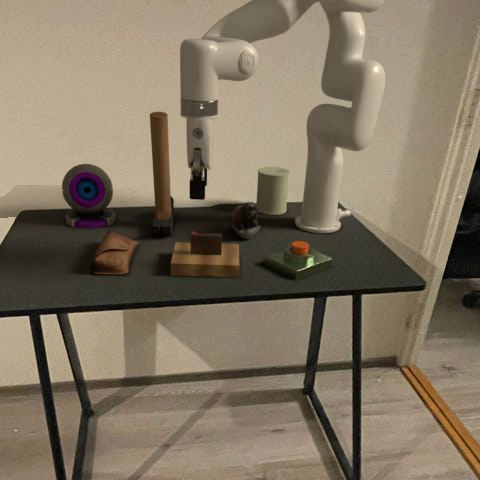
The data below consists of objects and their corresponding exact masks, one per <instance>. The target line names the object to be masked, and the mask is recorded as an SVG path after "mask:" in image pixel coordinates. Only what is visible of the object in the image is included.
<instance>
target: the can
mask: <svg viewBox="0 0 480 480" xmlns="http://www.w3.org/2000/svg"><path fill="white" fill-rule="evenodd" d="M289 180H290V170H288V169H287V168H284V167H280V166H279V167H277V166H264V167H259V168H258V169H257V187H256V189H257V190H256V203H255V205H256V207H258V209H257V210H258V214H259V213H260V214H263V215H267V216H278V215H283V214H285V213H287V211H288V210H287V205H288V203H287V202H288V190H289Z"/></svg>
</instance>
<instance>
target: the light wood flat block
mask: <svg viewBox="0 0 480 480" xmlns="http://www.w3.org/2000/svg"><path fill="white" fill-rule="evenodd" d="M170 275H171V276H172V277H173V276H176V277H177V276H178V277H206V278H207V277H209V278H212V277H215V278H217V277H220V278H221V277H222V278H239V277H240V244H239V243H222V255H208V254H191V242H187V241H186V242H184V241H183V242H181V241H180V242H179V241H178V242H177V241H176V242H175V243H174V247H173V252H172V256H171V261H170Z"/></svg>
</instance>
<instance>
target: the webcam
mask: <svg viewBox="0 0 480 480" xmlns="http://www.w3.org/2000/svg"><path fill="white" fill-rule="evenodd" d="M61 190H62V197H63V199H64V201H65V202H66V204H67V205H68V206H69V207H70V208H71V210H69V211H68V212H67V213H66V214H65V223H66V225H68V226H70V227H72V228H73V227H79V228H86V229H87V228H89V229H90V228H98V227H103V226H110V225H112V224H114V223H115V222H116V214H115V211H113V209H111V208H108V206H109V205H110V203H111V202H112V199H113V195H114V194H113V193H114V186H113V182H112V180H111V178H110V176H109V175H108V173H107V172H106V171H105V170H104V169H103V168H101V167H100V166H97V165H95V164H92V163H81V164H76V165H75V166H73V167H71V168H70V169H69V170H68V171H67V172H66V173H65V175H64V177H63V178H62V182H61Z"/></svg>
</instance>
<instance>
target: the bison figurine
mask: <svg viewBox="0 0 480 480" xmlns="http://www.w3.org/2000/svg"><path fill="white" fill-rule="evenodd" d="M257 209H258V207H256V203H254V201H247V202H245V203H243V205H238V206H236V207H235V208H234V209H233V212H232V230H233V231H234V232H235V233H236V235H238V236H239V237H240V238H242V239H243V240H244V239H245V240H247V239H252V238H253V237H254V236H255V235H256V234H257V233H259V231H260V229H261V226H260V225H259V224H258V220H257V219H259V216H258V214H259V212H258V210H257Z"/></svg>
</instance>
